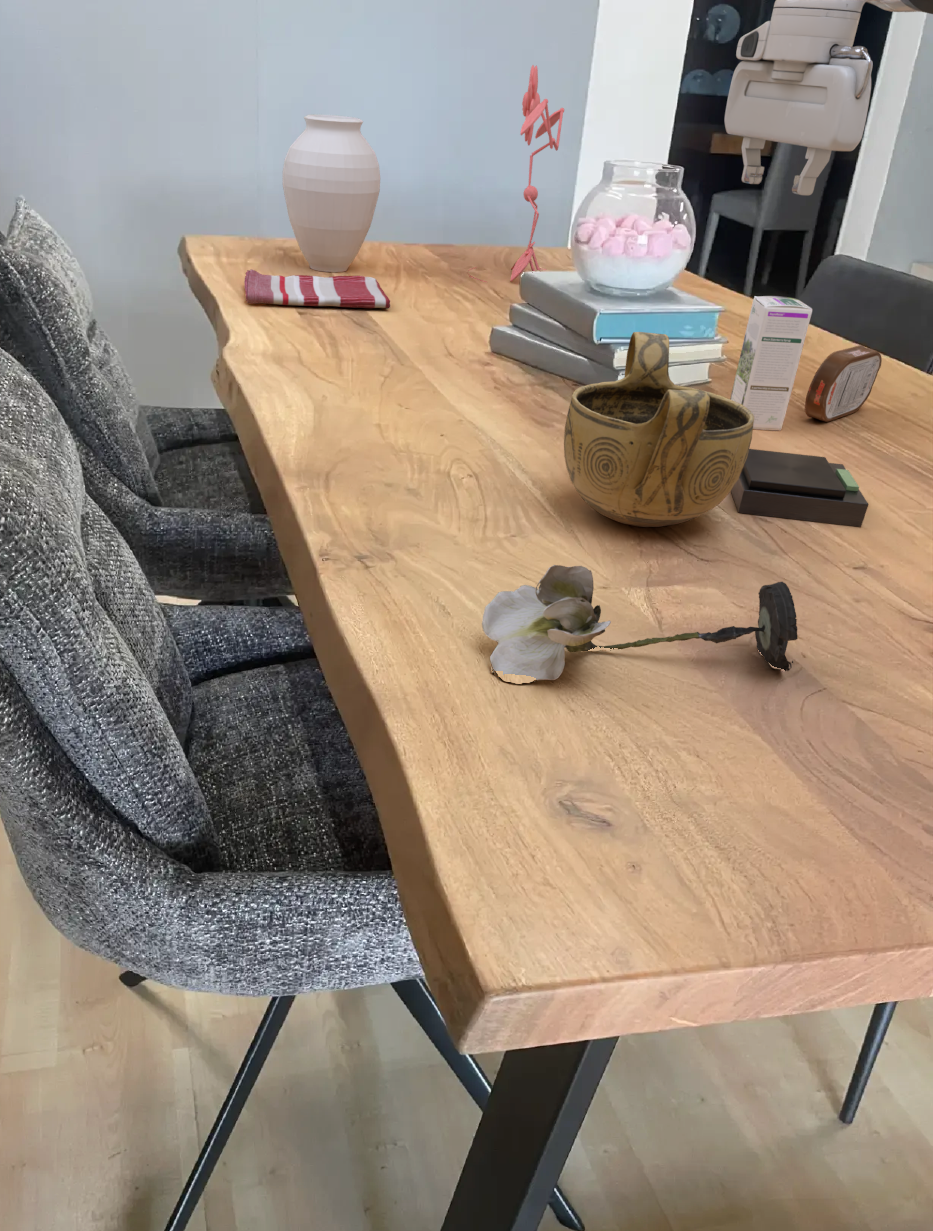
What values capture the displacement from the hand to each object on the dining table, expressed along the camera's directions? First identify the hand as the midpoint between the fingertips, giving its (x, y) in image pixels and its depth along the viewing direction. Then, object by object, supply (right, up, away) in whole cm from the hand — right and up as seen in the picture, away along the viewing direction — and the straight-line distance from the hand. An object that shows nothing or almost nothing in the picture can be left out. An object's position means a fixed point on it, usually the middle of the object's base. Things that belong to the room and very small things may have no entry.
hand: (775, 188), depth 120 cm
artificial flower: (-26, -57, -42) cm, 76 cm away
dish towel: (-56, +11, +57) cm, 81 cm away
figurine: (-21, +26, +85) cm, 92 cm away
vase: (-55, +26, +80) cm, 101 cm away
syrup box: (+2, -23, +13) cm, 26 cm away
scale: (-2, -37, -10) cm, 39 cm away
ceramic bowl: (-19, -41, -17) cm, 48 cm away
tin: (+14, -21, +18) cm, 31 cm away
